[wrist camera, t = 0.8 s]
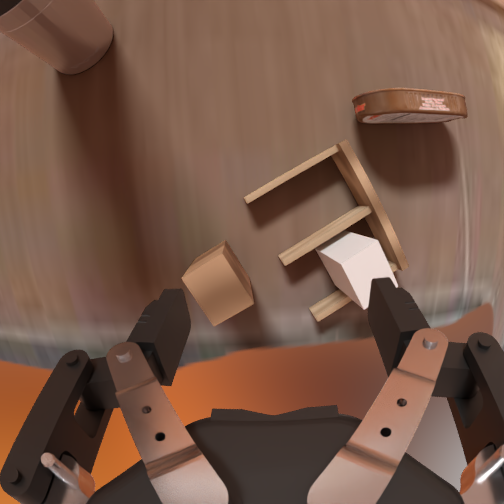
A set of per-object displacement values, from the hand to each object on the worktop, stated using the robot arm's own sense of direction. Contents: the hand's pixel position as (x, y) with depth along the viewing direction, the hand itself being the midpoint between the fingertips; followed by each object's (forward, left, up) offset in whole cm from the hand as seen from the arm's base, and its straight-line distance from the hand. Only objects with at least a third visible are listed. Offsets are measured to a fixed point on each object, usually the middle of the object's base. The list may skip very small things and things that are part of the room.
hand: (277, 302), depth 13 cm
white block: (+7, +8, -21) cm, 24 cm away
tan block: (+1, -4, -22) cm, 22 cm away
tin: (-4, +24, -22) cm, 32 cm away
